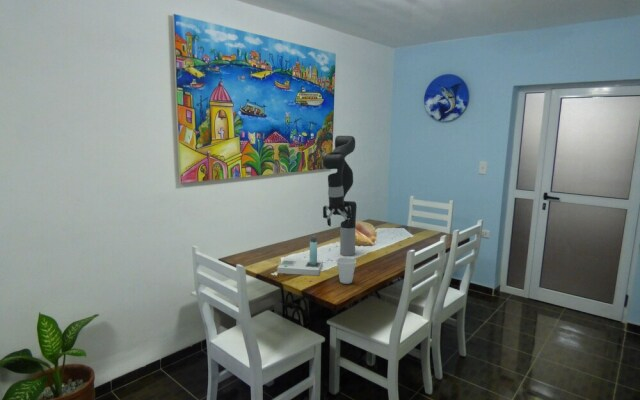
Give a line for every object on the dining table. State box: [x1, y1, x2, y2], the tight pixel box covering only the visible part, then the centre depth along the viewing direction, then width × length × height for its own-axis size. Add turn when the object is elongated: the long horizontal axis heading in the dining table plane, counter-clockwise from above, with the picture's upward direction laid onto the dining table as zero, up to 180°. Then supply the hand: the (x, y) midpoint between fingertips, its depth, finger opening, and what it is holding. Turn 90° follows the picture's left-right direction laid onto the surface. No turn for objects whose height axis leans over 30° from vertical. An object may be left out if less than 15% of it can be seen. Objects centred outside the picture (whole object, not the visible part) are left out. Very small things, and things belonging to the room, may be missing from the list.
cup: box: [336, 257, 357, 285], centre depth 186 cm, size 10×10×11 cm
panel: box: [276, 258, 324, 277], centre depth 205 cm, size 16×22×4 cm
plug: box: [309, 234, 318, 266], centre depth 202 cm, size 4×4×19 cm
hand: (338, 225), depth 189 cm, fingers open, 8 cm apart
